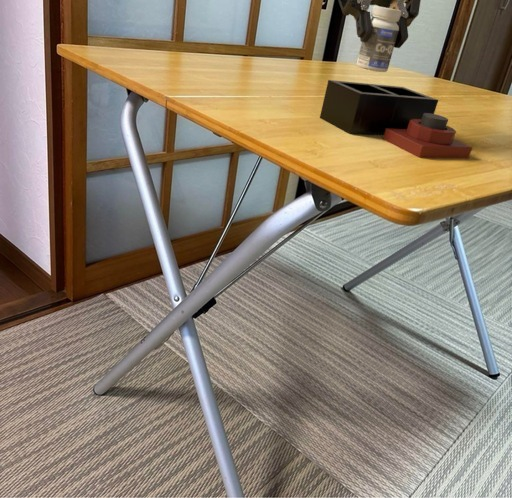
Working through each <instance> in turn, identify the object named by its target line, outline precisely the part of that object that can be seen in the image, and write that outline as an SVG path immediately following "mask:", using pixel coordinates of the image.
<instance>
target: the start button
mask: <svg viewBox="0 0 512 498" xmlns="http://www.w3.org/2000/svg"><path fill="white" fill-rule="evenodd" d="M448 122H449V119H448V117H445V116H443V115H439V114H435V113H434V114H431V113H424V114H423V116H422V119H421V123H420V124H421V125H423V126H426V127H429V128H433V129H438V130H445V128H446V126H448Z"/></svg>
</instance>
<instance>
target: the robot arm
mask: <svg viewBox="0 0 512 498" xmlns="http://www.w3.org/2000/svg"><path fill="white" fill-rule="evenodd" d="M337 1H338V4H339V7H340V10H341V13H342V14H343V15H344V16H346V17H347V16H352V17H353V20H355V28H356V35H357V38H359V40H360V41H359V42H361V43H362V42H367V40H368V39H369V38H370V36H371V34H372V27H371V19H372V16H371V11H368V10H369V8H370V6H379V7H385V8H390V9H395V10H400V11H401V15H400V19H399V21H397V25H398V26H399V31H398V35H397V38H396V42H395V45H394V48H396V49H401V47H402V46H403V45H404V44H405V43H406V41H407V40H408V39H409V29H408V28H409V27H410V26H411V24H412V23H413V22H414V20H416V18H417V17H418V16H419V14H420V8H421V1H422V0H337Z"/></svg>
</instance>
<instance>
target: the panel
mask: <svg viewBox="0 0 512 498" xmlns="http://www.w3.org/2000/svg"><path fill="white" fill-rule="evenodd" d="M420 123H421V119H412V120H410V122H409V125H408V128H407V129H390V128H386V130H385V133H384V136H383V135H382V140H383V141H385V142H387V143H390V144H391V145H393V146H395V147H397V148H399V149H400V150H403V151H405V152H407V153H409V154H411V155H413V156H415V157H417V158H419V159H469V158H470V156H471V152H472V150H473V146H471V145H469V144H466V143H465V142H462V141H459V140H457V139H455V136H456V133H457V131H456V130H455V129H454V128H453V127H451V126H449V125H446V128H445V130H438V129H433V128H429V127H426V126H423V125H421V124H420Z"/></svg>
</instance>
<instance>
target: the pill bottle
mask: <svg viewBox="0 0 512 498" xmlns="http://www.w3.org/2000/svg"><path fill="white" fill-rule="evenodd" d="M400 15H401V11H400V10H395V9H390V8H385V7H380V6H377V5H373V7H372V10H371V14H370V17H371V27H372V34H371V36H370V38H369V39H368V40H367V42H361V44H360V48H359V52H358V55H357V61H356V66H357V67H359V68H361V69H364V70H367V71H371V72H377V73H386V72H388V69H389V67H390V63H391V60H392V55H393V52H394V48H395V47H394V45H395V42H396V38H397V35H398V31H399V26H398V25H397V21H399V19H400Z"/></svg>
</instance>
